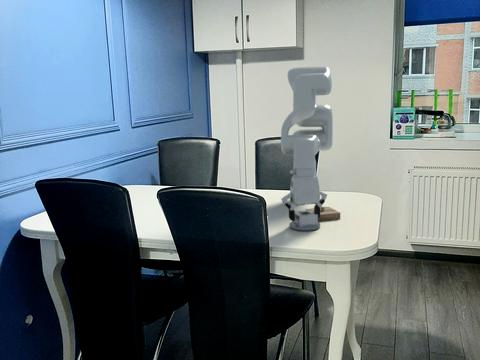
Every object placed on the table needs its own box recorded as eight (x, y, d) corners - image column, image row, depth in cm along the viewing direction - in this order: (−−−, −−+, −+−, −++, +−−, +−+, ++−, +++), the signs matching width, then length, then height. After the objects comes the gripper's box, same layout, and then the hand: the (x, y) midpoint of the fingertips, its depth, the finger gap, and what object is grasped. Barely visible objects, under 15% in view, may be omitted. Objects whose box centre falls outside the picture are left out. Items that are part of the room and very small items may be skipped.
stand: (305, 215, 191) (305, 205, 190) (328, 212, 194) (328, 203, 193) (316, 221, 182) (316, 211, 181) (340, 218, 184) (340, 208, 184)
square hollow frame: (299, 227, 171) (299, 216, 170) (292, 222, 177) (291, 211, 177) (317, 225, 173) (317, 214, 172) (309, 220, 179) (309, 209, 178)
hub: (285, 224, 179) (284, 214, 178) (312, 221, 182) (312, 211, 181) (296, 233, 168) (296, 221, 168) (325, 229, 171) (325, 218, 171)
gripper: (285, 176, 165) (286, 224, 169) (331, 172, 170) (331, 218, 173) (277, 172, 172) (278, 218, 176) (321, 168, 177) (321, 213, 180)
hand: (304, 218), depth 175 cm, fingers open, 9 cm apart
